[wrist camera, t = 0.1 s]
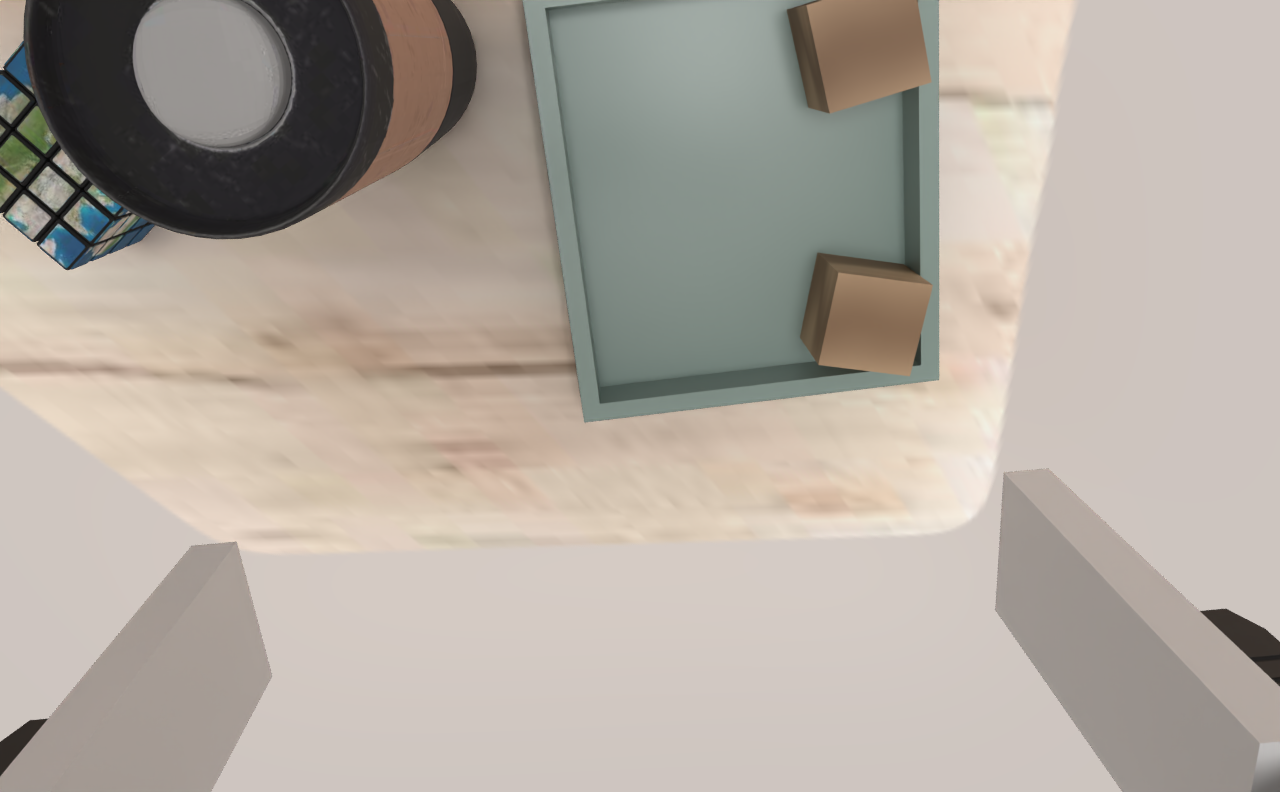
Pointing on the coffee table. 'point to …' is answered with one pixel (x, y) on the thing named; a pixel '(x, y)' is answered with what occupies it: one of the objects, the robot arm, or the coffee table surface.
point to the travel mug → (245, 100)
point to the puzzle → (52, 183)
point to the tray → (718, 198)
